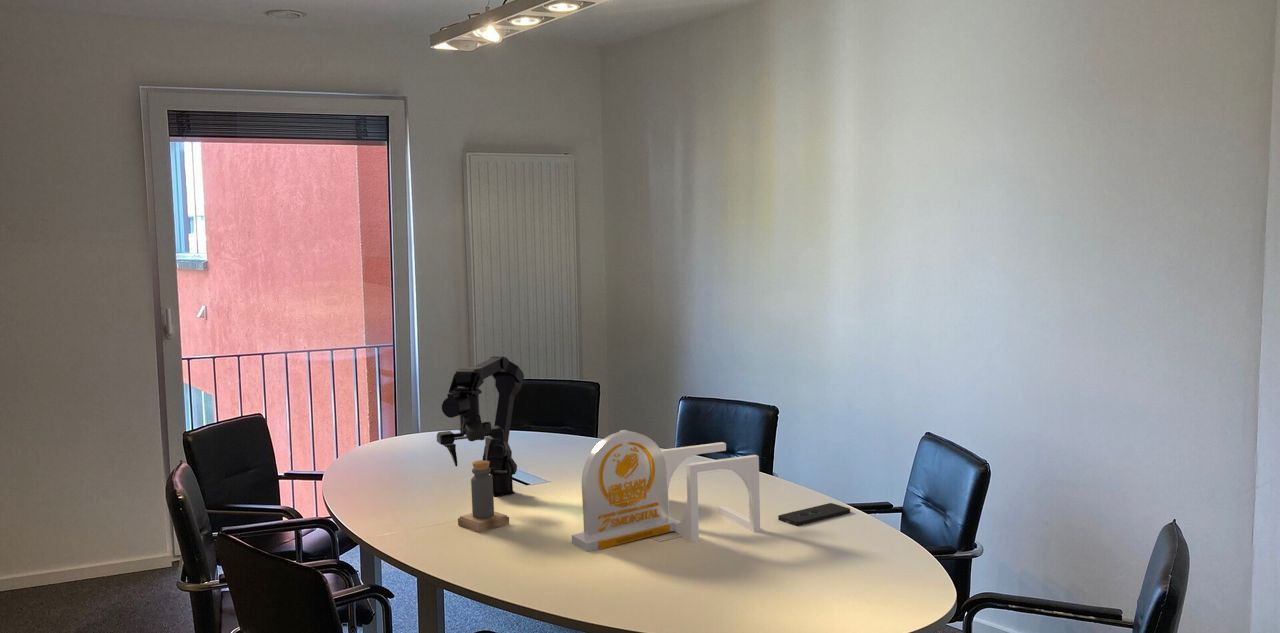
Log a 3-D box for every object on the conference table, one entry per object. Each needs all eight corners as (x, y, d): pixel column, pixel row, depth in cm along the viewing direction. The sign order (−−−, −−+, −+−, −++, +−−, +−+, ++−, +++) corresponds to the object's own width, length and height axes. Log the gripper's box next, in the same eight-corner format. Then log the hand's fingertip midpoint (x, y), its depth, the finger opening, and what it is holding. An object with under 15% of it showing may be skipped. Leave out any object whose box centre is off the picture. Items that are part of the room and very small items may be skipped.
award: (588, 552, 248) (583, 443, 246) (571, 543, 256) (566, 437, 253) (681, 530, 263) (677, 427, 260) (663, 522, 270) (659, 422, 268)
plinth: (487, 517, 281) (487, 508, 281) (509, 524, 274) (508, 515, 274) (458, 525, 275) (457, 516, 274) (479, 532, 267) (478, 523, 267)
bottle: (494, 517, 272) (492, 463, 271) (473, 519, 271) (470, 465, 270) (493, 511, 278) (491, 458, 276) (472, 513, 277) (469, 460, 275)
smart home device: (776, 514, 271) (830, 502, 282) (776, 521, 271) (830, 508, 282) (797, 521, 264) (851, 508, 275) (797, 528, 264) (851, 514, 275)
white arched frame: (659, 522, 272) (657, 450, 270) (724, 512, 280) (722, 442, 278) (691, 542, 254) (689, 465, 252) (760, 531, 262) (758, 456, 260)
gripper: (444, 419, 278) (446, 474, 279) (508, 412, 286) (510, 465, 287) (435, 412, 288) (437, 466, 289) (497, 406, 296) (499, 458, 297)
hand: (471, 464), depth 290 cm, fingers open, 9 cm apart
